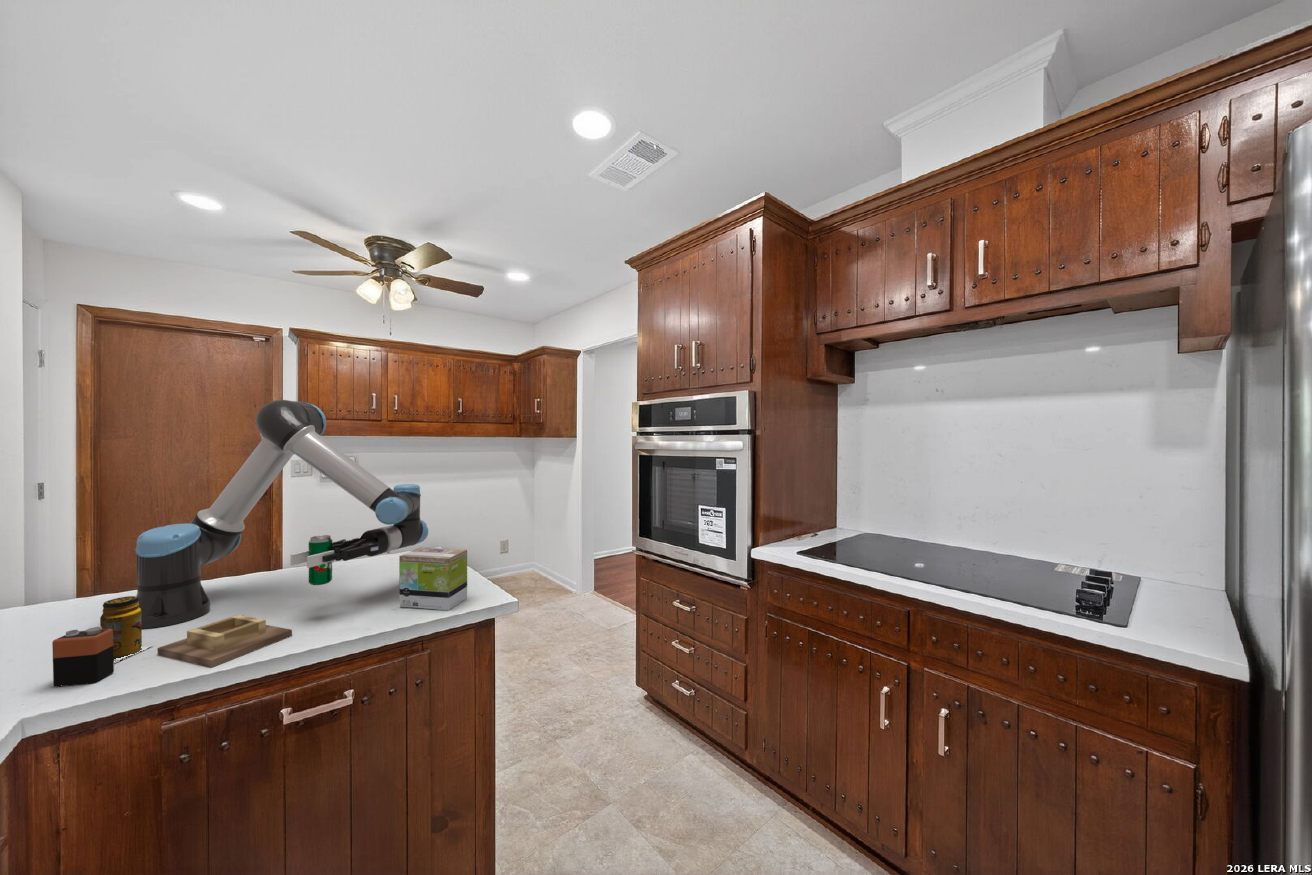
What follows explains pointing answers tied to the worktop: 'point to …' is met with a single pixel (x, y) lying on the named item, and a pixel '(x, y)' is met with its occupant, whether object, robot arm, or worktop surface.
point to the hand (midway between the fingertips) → (299, 560)
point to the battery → (83, 656)
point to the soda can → (323, 571)
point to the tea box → (433, 578)
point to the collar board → (224, 640)
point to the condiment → (123, 625)
